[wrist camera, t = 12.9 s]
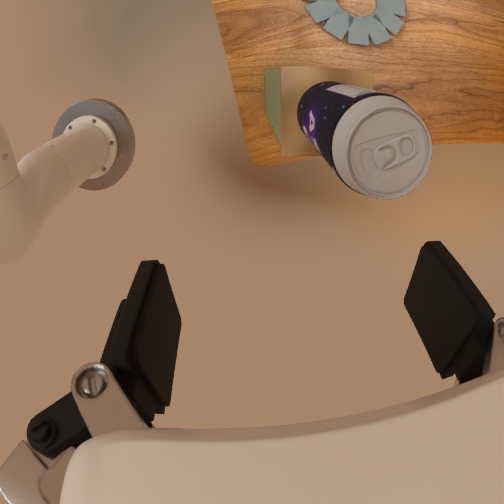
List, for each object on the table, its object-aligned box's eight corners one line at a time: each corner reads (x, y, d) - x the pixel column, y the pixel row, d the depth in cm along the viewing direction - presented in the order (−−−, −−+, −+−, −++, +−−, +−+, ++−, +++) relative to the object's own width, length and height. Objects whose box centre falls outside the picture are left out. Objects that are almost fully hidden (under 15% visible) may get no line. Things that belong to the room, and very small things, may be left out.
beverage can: (282, 97, 21) (316, 125, 12) (342, 70, 20) (420, 81, 10) (313, 154, 24) (360, 224, 14) (368, 128, 23) (447, 181, 13)
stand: (264, 114, 44) (281, 156, 24) (262, 67, 39) (280, 65, 20) (313, 114, 44) (368, 157, 24) (313, 68, 39) (373, 72, 20)
